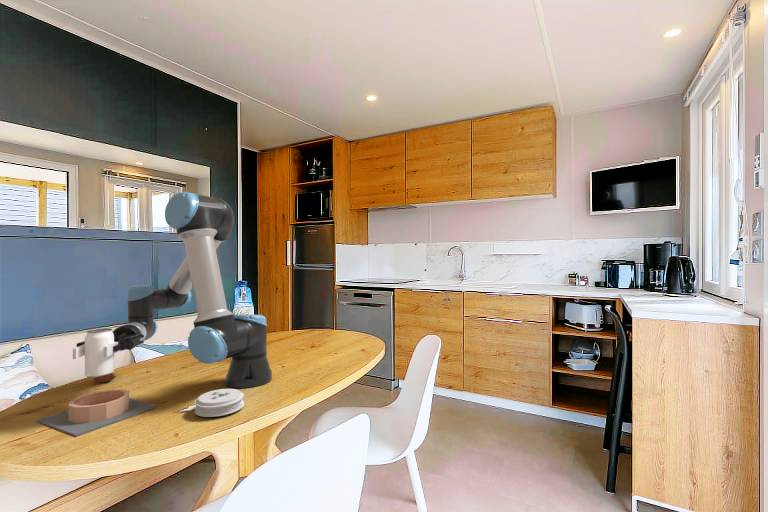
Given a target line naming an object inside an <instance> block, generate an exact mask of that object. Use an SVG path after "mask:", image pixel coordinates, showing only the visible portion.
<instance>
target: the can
mask: <svg viewBox="0 0 768 512" xmlns="http://www.w3.org/2000/svg"><path fill="white" fill-rule="evenodd" d="M84 341H85V355H84V376H85V377H87V378H92V377H100V376H105V375H109V374H111V373H113V372H114V371H115V353H114V354H112V355H110V356H108V357H104V347H105V346H107V345H109V344H112V343H114V334H113V328H97V329H92V330H88V331H86V335H85V337H84ZM113 374H114V373H113Z"/></svg>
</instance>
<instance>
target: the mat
mask: <svg viewBox="0 0 768 512" xmlns="http://www.w3.org/2000/svg"><path fill="white" fill-rule="evenodd" d="M159 407H160V406H159V405H158V404H154V403H151V402H147V401H143V400H140V399H135V398H132V397H129V409H128V410H127V411H125V412H123V413H122V414H120V415H117V416H114V417H111V418H108V419H105V420H100V421H94V422H88V423H74V422H71V421H68V410H65V411H62V412H59V413H58V412H57V413H55V414H52V415H48V416H44V417H41V418H39V419H36V420H35V421H36V422H37V423H39V424H43V425H45V426H47V427H49V426H50V427H49V428H52V429H54V428H55V430H57V431H59V432H62V431H63V433H65V434H67V435H70V436H74V437H75V436H77V437H79V435H80V436H82V435H85V434H88V433H90V431H91V432H93V430H94V431H96V430H98V429H99V430H100V429H102V428H104V426H105V427H107V426H110V425H112V424H115V423H118V422H121V421H124V420H127V419H129V418H133V417H134V416H138V415H141V414H143V413H146V412H148V411H151V410H154V409H157V408H159ZM101 427H102V428H101ZM95 429H96V430H95ZM87 432H88V433H87ZM84 433H85V434H84Z"/></svg>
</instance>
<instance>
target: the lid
mask: <svg viewBox="0 0 768 512" xmlns="http://www.w3.org/2000/svg"><path fill="white" fill-rule="evenodd" d="M244 398H245V393H243V392H242V391H241V390H239V389H238V388H237V389H236V388H220V389H215V390H211V391H207V392H205V393H202V394H201V395H199V396H198V397H197V398H196V399H195V400H194V405H195V409H194V414H195V415H197V416H199V417H205V418H211V417H221V416H222V417H223V416H227V415H229V414H233V413H235V412H238V411H239V410H241V409H242V408H243V407H244V406H245V401H244Z"/></svg>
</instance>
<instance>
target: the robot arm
mask: <svg viewBox="0 0 768 512" xmlns="http://www.w3.org/2000/svg"><path fill="white" fill-rule="evenodd" d="M164 218H165V219H164V220H165V222H166V224H167V225H168V226H169V228H172V229H174V230H175V231H176V236H177V238H178V239H179V240H181V241H182V242H183V243H184V247H185V248H184V249H185V255H186V256H184V259H183V261H182V262H181V264H180V266H179V267H178V269H177V271H176V272H175V273H174V275H173V277H172V279H170V282H169V283H168V285H167V287H166V288H160V289H154V286H153V285H152V284H141V285H131V286H129V287H128V289H127V296H126V300H127V323H126V324H124V325H121V326H119V327H116V328H114V330H112V332H113V334H114V343H112V344H109V345H107V346H105V347H104V357H108V356H110V355H112V354H114V355H115V354H116V353H117V352H119V351H120V352H122V351H126V350H128V351H131V350H133V349H135V348H136V347H137V346H139V345H141V344H144V343H145V341H147V340H149V339H151V338H152V337H153V336H154V335H155V334H156V333H157V331H158V324H157V322H156V321H155V319H154V311H161V310H171V309H178V308H183V307H186V306H188V305H189V304H190V303H191V301H192V298H193V297H194V298H193V299H194V302H195V308H196V313H197V316H196V318H195V320H194V321H193V329H191V331H190V332H189V336H188V337H187V345H188V349H189V352H190V354H191V355H192V357H193V358H194V359H196V360H197V361H198V362H200V363H202V364H207V365H208V364H209V365H210V364H214V363H220V362H223V361H224V360H227V359H230V363H229V367H228V370H227V374H226V376H225V385H226V386H227V387H231V388H233V389H236V388H237V389H246V388H255V387H259V386H263V385H265V384H267V383H270V382H271V381H272V380H273V372H272V369H271V368H270V367H271V366H270V363H269V359H268V356H267V354H268V352H267V350H268V349H267V348H268V347H267V345H268V344H267V343H268V341H267V339H268V338H267V335H268V334H267V328H268V325H267V318H266V316H264V315H262V314H249V313H248V314H247V313H246V314H244V313H243V314H242V313H240V314H238V313H237V314H235V313H233V312H232V311H230V310H229V309H228V308H227V307H228V306H227V301H226V295H225V291H224V285H223V279H222V275H221V270H220V265H219V260H218V256H217V250H218V248H219V247H220V245H221V243H223V242H226V241H227V239H228V238H229V236H230V235H231V233H232V230H233V229H234V224H235V215H234V211H233V208H232V207H231V205H230V204H229V203H228V202H226V201H225V199H224V200H223V199H222V198H219V197H212V196H209V195H208V196H207V195H204V194H199V193H198V194H197V193H195V192H187V191H186V192H185V191H181V192H177V193H175V194H174V195H172V196H171V198H170V199H169V200H168V203H166V206H165V209H164ZM191 291H193V297H192V292H191ZM83 356H84V357H85V340H83V341H80V342H77V343H76V347H74V348H72V360H76V359H79V358H81V357H83Z"/></svg>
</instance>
